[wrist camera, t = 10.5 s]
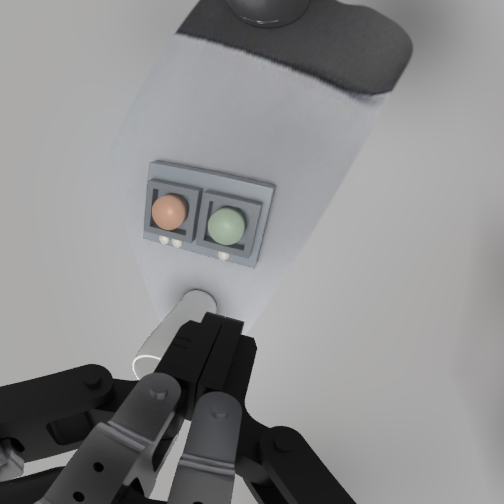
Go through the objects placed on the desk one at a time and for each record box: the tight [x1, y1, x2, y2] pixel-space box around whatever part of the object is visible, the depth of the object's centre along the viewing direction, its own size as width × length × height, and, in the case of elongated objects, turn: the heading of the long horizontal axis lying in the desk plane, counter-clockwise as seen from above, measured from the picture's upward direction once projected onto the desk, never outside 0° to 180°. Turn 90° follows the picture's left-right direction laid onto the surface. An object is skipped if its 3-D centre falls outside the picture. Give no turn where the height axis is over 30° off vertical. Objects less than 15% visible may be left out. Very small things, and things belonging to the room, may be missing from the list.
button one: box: [208, 206, 246, 245], centre depth 33 cm, size 4×4×2 cm
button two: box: [152, 193, 189, 230], centre depth 34 cm, size 4×4×2 cm
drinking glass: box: [132, 290, 217, 380], centre depth 35 cm, size 7×7×15 cm
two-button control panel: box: [143, 161, 275, 269], centre depth 35 cm, size 10×15×4 cm, turn 78°
